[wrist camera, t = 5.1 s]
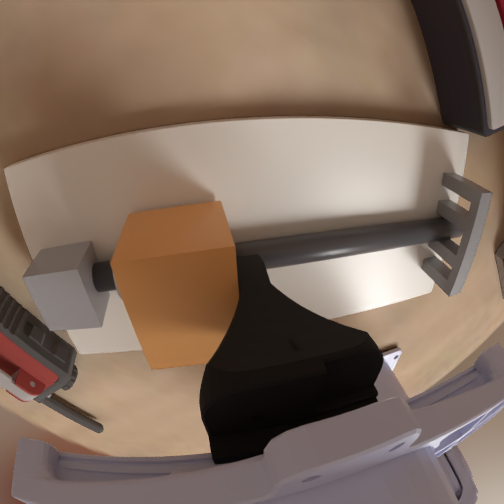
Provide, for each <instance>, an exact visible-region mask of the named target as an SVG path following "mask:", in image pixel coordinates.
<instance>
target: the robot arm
mask: <svg viewBox="0 0 504 504" xmlns="http://www.w3.org/2000/svg"><path fill="white" fill-rule="evenodd" d="M236 262H237V275H238V288H239V300H238V304H237V307H236V310H235V313H234V316H233V319H232V321H231V324H230V326H229V328H228V330H227V332H226V334H225V336H224V338H223V340H222V342H221V343H220V345H219V347H218V349H217V350H216V352H215V353H214V355H213V356H212V357H211V359H210V360H209V362H208V363H207V365H206V368H205V371H204V375H203V379H202V384H201V389H200V411H201V418H202V421H203V423H204V426H205V428H206V431H207V433H208V436H209V442H210V448H211V453H205V454H195V455H183V456H165V457H112V456H95V455H83V454H73V453H65V452H59V451H58V450H57V449H56V448H55V447H53V446H52V445H51V444H49V443H47V442H45V441H41V440H35V439H29V438H24V437H20V438H19V442H18V447H17V453H16V460H15V466H14V474H13V483H12V493H11V495H12V496H13V497H14V498H16V499H18V500H20V501H22V502H24V503H27V504H475V503H476V501H477V496H476V495H477V493H478V490H477V488H476V486H475V484H474V482H473V479H472V474H471V471H470V469H469V467H468V465H467V463H466V461H465V459H464V457H463V455H462V453H461V451H460V450H459V448H458V446H457V444H458V443H459V442H461V441H462V440H464V439H465V438H466V437H468V436H469V435H470V434H472V433H473V432H474V431H476V430H477V429H478V428H480V427H481V426H482V425H484V424H485V423H486V422H487V421H489V420H490V419H491V418H492V417H494V416H495V415H496V414H497V413H498V412H499V411H500V410H501V409H502V408H503V407H504V349H503V347H502V346H501V345H500V344H499V343H496V344H495V345H493V346H491V347H489V348H488V349H487V350H485V351H484V352H482V353H481V354H480V356H479V357H478V358H477V360H476V361H475V363H474V365H473V366H472V367H470V368H468V369H466V370H465V371H463V372H461V373H459V374H458V375H456V376H454V377H452V378H450V379H448V380H447V381H445V382H443V383H441V384H439V385H437V386H435V387H433V388H431V389H429V390H427V391H425V392H423V393H420V394H418V395H416V396H414V397H412V398H410V399H409V397H408V396H407V394H406V392H405V391H404V389H403V387H402V386H401V384H400V382H399V381H398V379H397V378H396V376H395V374H394V373H393V369H394V367H395V365H396V363H397V361H398V359H399V357H400V355H401V352H402V350H401V349H400V348H395V349H392V350H389V351H387V352H384V353H381V351H380V350H379V348H378V346H377V345H376V343H375V342H374V340H373V339H372V338H371V337H370V336H369V334H368V333H367V332H365V331H362V330H358V329H355V328H351V327H348V326H345V325H342V324H339V323H337V322H334V321H331V320H329V319H327V318H324V317H322V316H320V315H318V314H316V313H314V312H312V311H310V310H308V309H306V308H304V307H303V306H301V305H299V304H298V303H296V302H295V301H293V300H292V299H290V298H289V297H287V296H286V295H285V294H283V293H282V292H281V291H279V290H278V289H277V288H276V287H275V286H273V285H272V284H271V282H270V279H269V276H268V273H267V270H266V267H265V264H264V262H263V260H262V259H261V257H260V256H259V255H258V254H255V255H247V256H240V257H236Z"/></svg>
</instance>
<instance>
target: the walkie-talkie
mask: <svg viewBox="0 0 504 504" xmlns="http://www.w3.org/2000/svg"><path fill="white" fill-rule="evenodd" d="M76 354H77V353H76V350H75V348H74V347H72V346H71V345H70V344H68V343H67V342H66V341H64V340H63V339H62V338H60V337H59V336H58V335H56V334H55V333H54V332H53V331H50V330H49V328H48V327H46V326H45V325H44V324H43V323H41V322H40V321H39V320H38V319H37V318H36V317H34V316H33V315H32V314H31V313H30V312H29V311H27V310H26V309H24V308H23V307H22V305H21V304H18V303H17V302H16V300H15V299H13V298H12V297H11V296H10V294H9V293H6V292H5V291H4V288H3V287H0V387H1V388H5V389H6V391H7V392H8V393H9V394H11V395H12V396H14V397H15V398H17V399H18V400H20V401H22V402H28V401H31V400H32V399H34V400H35V401H37V402H39V403H43V404H45V405H46V406H48V407H50V408H51V409H53V410H55V411H57V412H58V413H60V414H62V415H64V416H65V417H67V418H69V419H71V420H73V421H75V422H77V423H79V424H81V425H83V426H84V427H86V428H89V429H91V430H93V431H95V432H97V433H101V432H103V430H104V429H103V425H102V424H100V423H98V422H96V421H94V420H92V419H90V418H88V417H86V416H85V415H83V414H81V413H79V412H77V411H75V410H74V409H72V408H70V407H68V406H67V405H65V404H63V403H61V402H60V401H58V400H56V399H55V398H53V397H51V395H52V393H54V392H55V391H57V390H59V389H60V388H62V389H63V390H68V389H70V388H71V387H72V386H73V384H74V382H75V380H76V378H77V374H78V370H77V367H76V366H75V365H74V362H75V358H76Z"/></svg>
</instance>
